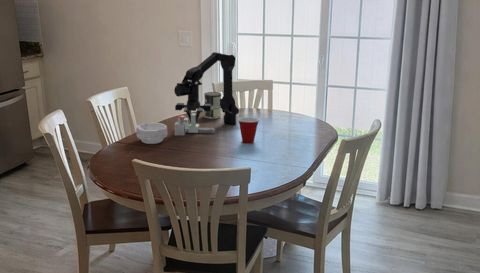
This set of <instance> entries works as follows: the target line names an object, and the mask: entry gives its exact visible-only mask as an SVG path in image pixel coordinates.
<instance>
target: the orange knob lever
mask: <svg viewBox="0 0 480 273" xmlns="http://www.w3.org/2000/svg"><path fill="white" fill-rule="evenodd" d="M177 118H178V119H179V122H184V118H186V116H185V115H178V116H177Z"/></svg>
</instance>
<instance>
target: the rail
mask: <svg viewBox="0 0 480 273" xmlns="http://www.w3.org/2000/svg"><path fill="white" fill-rule="evenodd" d="M187 133H188V134H190V133H189V131H188V128H187V132H186V134H187ZM197 134H215V128H212V127H211V128H210V127H209V128H208V127H199V128H198V133H197Z"/></svg>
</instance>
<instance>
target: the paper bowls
mask: <svg viewBox="0 0 480 273" xmlns="http://www.w3.org/2000/svg"><path fill="white" fill-rule="evenodd" d="M135 129H136V130H135V134H136V138H138V139H140V140H141V142H142V143H144V144H146V145H147V144H148V145H155V144H159V143H162V142H163V140H164V139H165V138H167V136H168V126H167V125H166V124H164V123H161V122H146V123H140V124H138V125H136V127H135Z"/></svg>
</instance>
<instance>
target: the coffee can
mask: <svg viewBox="0 0 480 273" xmlns="http://www.w3.org/2000/svg"><path fill="white" fill-rule="evenodd" d="M203 95H204V104H211V105H212V109H211V111H204V115H203V116H204V118H206V119H213V120H214V119H219V118H221V117H222V109H221V106H220V99H222V93H221V92H218V91H208V92H204V93H203Z"/></svg>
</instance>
